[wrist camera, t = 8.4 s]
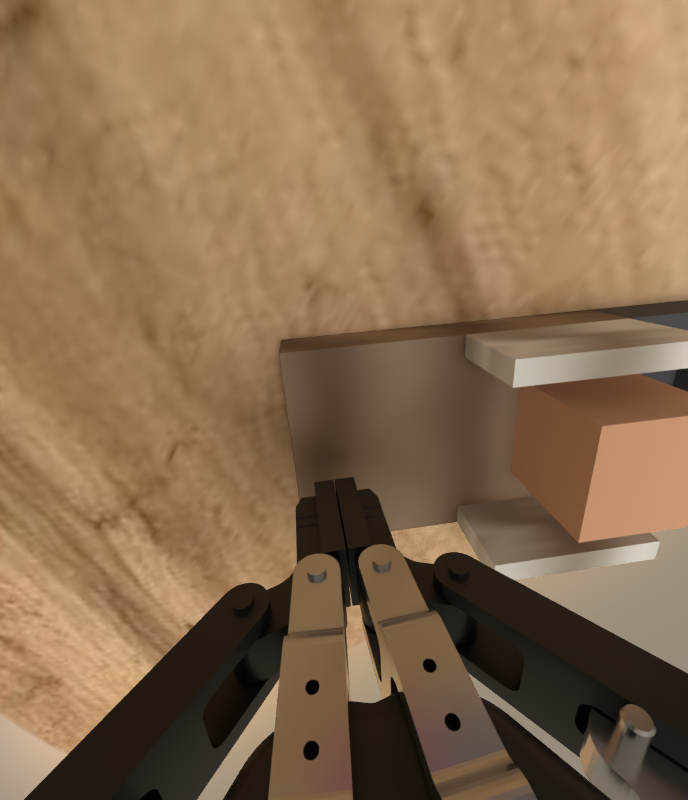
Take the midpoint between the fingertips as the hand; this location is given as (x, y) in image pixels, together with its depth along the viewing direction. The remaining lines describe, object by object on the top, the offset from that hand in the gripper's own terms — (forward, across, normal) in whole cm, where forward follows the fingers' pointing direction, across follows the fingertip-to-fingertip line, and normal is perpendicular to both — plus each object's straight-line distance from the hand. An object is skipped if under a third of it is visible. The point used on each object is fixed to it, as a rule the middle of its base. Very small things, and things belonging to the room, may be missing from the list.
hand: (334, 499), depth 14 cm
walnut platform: (+6, -6, 0) cm, 9 cm away
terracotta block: (+4, -12, 0) cm, 12 cm away
